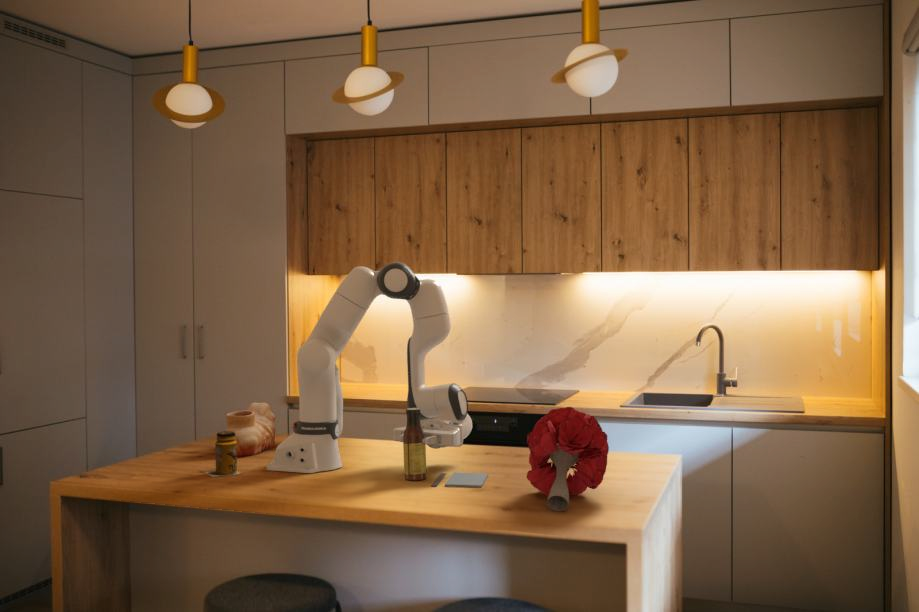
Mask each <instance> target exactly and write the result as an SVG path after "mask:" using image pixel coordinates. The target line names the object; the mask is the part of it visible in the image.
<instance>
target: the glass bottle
mask: <svg viewBox="0 0 919 612" xmlns="http://www.w3.org/2000/svg"><path fill="white" fill-rule="evenodd" d="M335 381H336V403H337V420H338V425H339V435H338V438H337V439H339V438H340V436H341V435H342V432H343V426H344V415H343V414H344V413H343V412H344V395H343V389H342V386H341V385H342V384H341V380H340V369H339V366H338V365H337V364H336V363H335Z"/></svg>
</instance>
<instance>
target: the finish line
mask: <svg viewBox="0 0 919 612" xmlns="http://www.w3.org/2000/svg"><path fill="white" fill-rule="evenodd" d="M446 475H447V472H440V473H439V475H438V476H437V478H436V479H434V481H433V482H432V483H431V485H430V486H431V487H438V486H439V484H440V483H441V482H442V480H443V479H444V477H445V476H446Z"/></svg>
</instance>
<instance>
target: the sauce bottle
mask: <svg viewBox="0 0 919 612" xmlns="http://www.w3.org/2000/svg"><path fill="white" fill-rule="evenodd" d="M405 413H406V429H405V431H404V434H403V437H404V442H402V443H403V444H402V445H403V469H404V470H403V473H404V478H405V479H406V480H408V481H416V482H417V481H423V480H425V479H426V478H427V453H426V452H427V451H426V449H427V447H426V446H427V445H426V444H422V438H424V437H425V436H424V433H423V430H422V427H423V426H422V425H421V420H420V413H421V411H420V408H408V407H407V408H406V409H405Z"/></svg>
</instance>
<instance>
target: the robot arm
mask: <svg viewBox="0 0 919 612" xmlns="http://www.w3.org/2000/svg"><path fill="white" fill-rule="evenodd" d="M381 295H383V296H385V297H387V298H389V299H395V300H396V299H397V300H404V301H406V302H407V303H408V305H409V308H410V311H411V316H412V324H413V329H412V334H411V336H410V337H409V338H408V340H407V345H406V346H407V347H406V356H407V357H406V358H407V359H406V360H407V361H406V362H407V364H406V365H407V382H408V383H407V385H408V386H407V387H408V388H407V398H406V407H407V409H408V408H420V411H421V413H420V421H425V420H426V421H425V422H424V423H423V426H421V427H422V430H423V433H424V436H425V437H424V438H422V444H425V446H427V447H429V448H432V449H434V450H435V449H437V450H438V449H441V448H443V449H444V448H447V447H453V448H459V447H462V446H463V445H464V444H463V443H464V439H466V438H468V436H469V435H470V434H471V432H472V429H473V421H472V420H473V419H472V418H471V416H470V415H469V413H468V411H469V402H468V397H467V394H466V392H465V391H464V390H463V388H462V387H461V386H460V385H459V384H457V383H454V382H453V383H443V384H439V385H438V384H437V385H430V386H427V384H426V373H425V369H426V368H425V360H426V356H427V354H428V353H429V352H430V351H431V350H432V349H434V348H435V347H437V346H439V345H440V344H441V343H444V341H446V339H447V337H448V336H449V334H450V332H451V327H452V326H451V318H450V313H449V309H448V308H449V307H448V304H447V300H446V297H445V293H444V291H443V289H442V287H441V284H440V283H439V282H438V281H436V280H434V279H430V278H429V279H428V278H427V279H419V277H418V276H417V275H416V274H415V273H414V271H413V270H412V268H411V267H410V266H409V265H407V264H406V263H403V262H402V261H392V262H388V263H387V264H385V265H384V266H383V267H382V268H381V269H378V270H376V271H375V270H373V269H371V268H369V267H366V266H356V267H354V268H353V269H351V270H350V271H349V273H347V275H346V276H345V278H344V279H343V280H342V281H341V283H340V284H339V285H338V287H337V289H336V290H335V292H334V293H333V295H332V297H331V298H330V300H329V301H328V303H327V304H326V306H325V308H324V310H323V311H322V312H321V315H320V317H319V319H318V320H317V322H316V324H315V326H314V327H313V328H312V330H311V333H310V334H309V336H308V337H307V339H306V340H305V342H303V343H302V344H301V345H300V347H299V348H298V349H297V353H296V369H297V370H296V371H297V383H298V394H299V397H298V399H299V402H298V404H299V419H297V420H296V421H294V423H292V426H291V429H292V430H293V433H292V434H290V435H289V436H287V437H286V438H285V439H283V441H282V442H281V443H279V444H278V445H276V447H275V451H274V455H273V460H271V461H269V462H268V463H267V464H266V468H265V470H266V471H273V472H275V471H277V472H290V473H301V474H313V473H319V472H327V471H333V470H338V469H339V468H340V469H341V468H342V467H343V462H342V459H341V458H342V457H341V455H340V449H339V442H338V439H339V438H338V435H339V425H338V420H337V403H336V381H335V364H336V363H337V361H338V359H339V358H340V356H341V354H342V352H343V351H344V349H345V347H346V346H347V344H348V343H349V341H350V339H351V338H352V335H353V334H354V332H355V331H356V329H357V328H358V326H359V325H360V323H361V321H362V319H363V318H364V317H365V314H366V313H367V311H368V309H369V308H370V306H371V305H372V303H373V302H374V300H375V299H376V298H377V297H378V296H381ZM406 426H407V425H406ZM406 426H405V425H404V426H400V427H396V428H394V429H393V430H392V431H393V432H392V436H393V437H392V438H393V441H395V442H399V443H403V442H404V437H403V434H404V431H405V429H406ZM337 438H338V439H337Z"/></svg>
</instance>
